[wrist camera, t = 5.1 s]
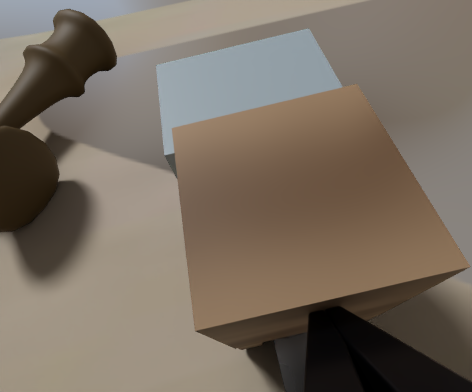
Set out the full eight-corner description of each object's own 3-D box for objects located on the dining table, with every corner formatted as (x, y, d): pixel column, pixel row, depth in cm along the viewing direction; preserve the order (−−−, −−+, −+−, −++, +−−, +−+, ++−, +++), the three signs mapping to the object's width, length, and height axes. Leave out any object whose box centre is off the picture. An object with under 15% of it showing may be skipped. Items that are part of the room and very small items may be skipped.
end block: (332, 186, 17) (355, 109, 12) (198, 218, 17) (164, 155, 12) (301, 114, 20) (308, 28, 15) (187, 141, 20) (155, 65, 15)
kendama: (154, 75, 26) (-23, 305, 17) (69, 63, 28) (-120, 252, 19) (122, 0, 20) (-158, 271, 12) (23, -6, 23) (-261, 206, 14)
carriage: (369, 320, 13) (470, 266, 6) (239, 350, 13) (195, 330, 6) (323, 205, 16) (356, 84, 9) (217, 230, 16) (171, 127, 9)
